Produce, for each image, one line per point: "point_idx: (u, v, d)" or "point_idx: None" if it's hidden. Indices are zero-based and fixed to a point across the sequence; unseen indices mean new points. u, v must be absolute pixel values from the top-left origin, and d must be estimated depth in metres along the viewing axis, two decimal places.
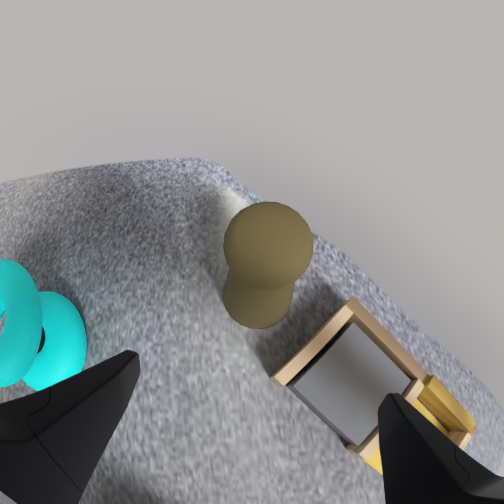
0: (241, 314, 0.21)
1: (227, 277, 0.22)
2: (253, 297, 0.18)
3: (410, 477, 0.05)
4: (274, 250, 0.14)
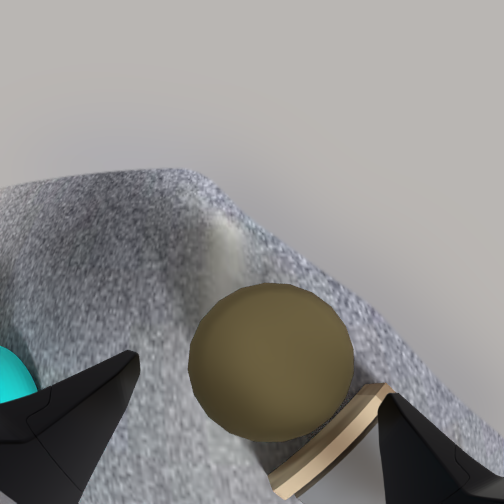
0: None
1: None
2: None
3: (410, 477, 0.05)
4: (282, 404, 0.06)
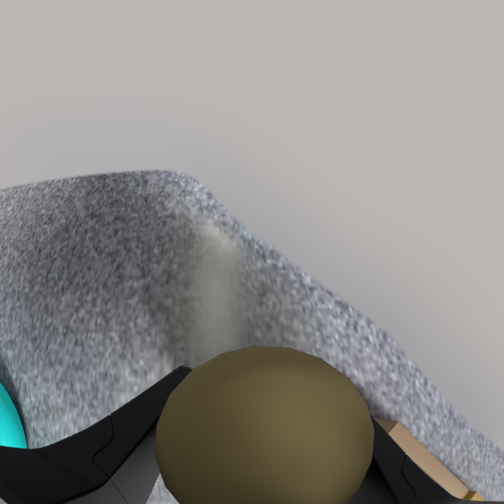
0: None
1: None
2: None
3: None
4: None
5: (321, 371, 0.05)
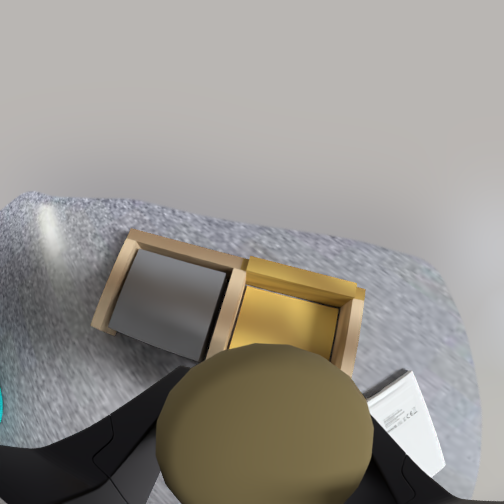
0: None
1: None
2: None
3: None
4: None
5: (321, 368, 0.05)
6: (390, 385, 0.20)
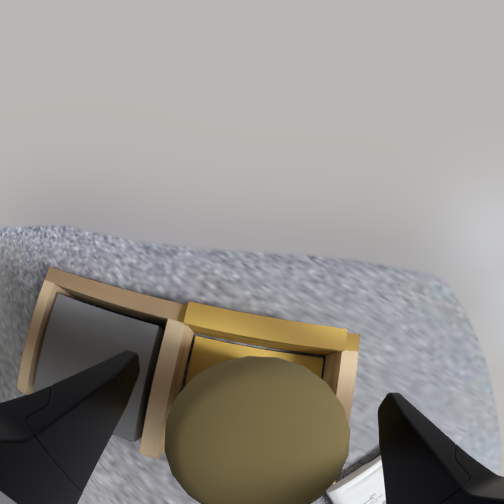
0: None
1: None
2: None
3: (410, 477, 0.05)
4: (264, 497, 0.04)
5: (302, 379, 0.06)
6: None
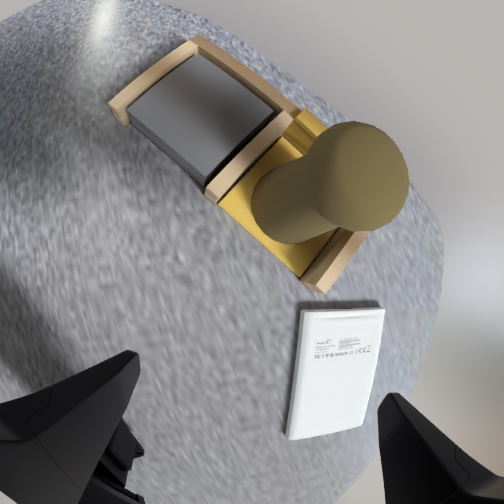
0: (267, 215, 0.18)
1: (277, 170, 0.17)
2: (298, 213, 0.15)
3: (410, 477, 0.05)
4: (371, 190, 0.10)
5: (401, 153, 0.11)
6: (361, 309, 0.22)
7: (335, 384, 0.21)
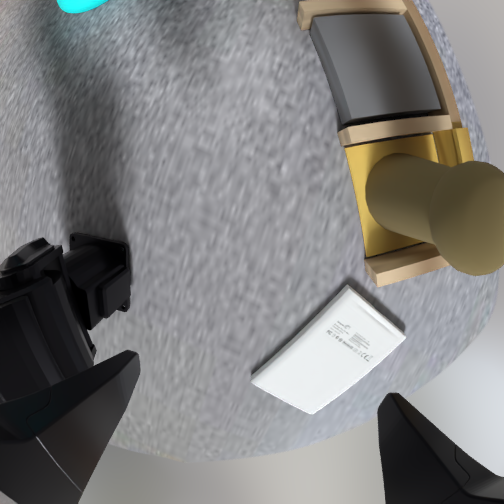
0: (380, 187, 0.16)
1: (414, 158, 0.14)
2: (410, 207, 0.13)
3: (410, 477, 0.05)
4: (482, 239, 0.08)
5: None
6: (390, 322, 0.21)
7: (323, 366, 0.22)
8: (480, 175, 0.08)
